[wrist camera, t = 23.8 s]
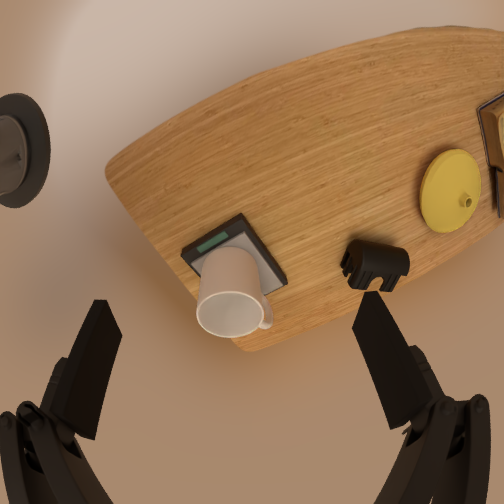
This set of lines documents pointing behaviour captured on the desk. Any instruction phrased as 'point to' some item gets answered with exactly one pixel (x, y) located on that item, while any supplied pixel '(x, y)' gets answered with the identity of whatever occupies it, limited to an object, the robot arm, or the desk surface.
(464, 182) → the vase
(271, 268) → the scale
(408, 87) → the desk surface
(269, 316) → the cup
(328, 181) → the desk surface
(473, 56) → the desk surface
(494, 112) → the book
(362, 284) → the end cap
